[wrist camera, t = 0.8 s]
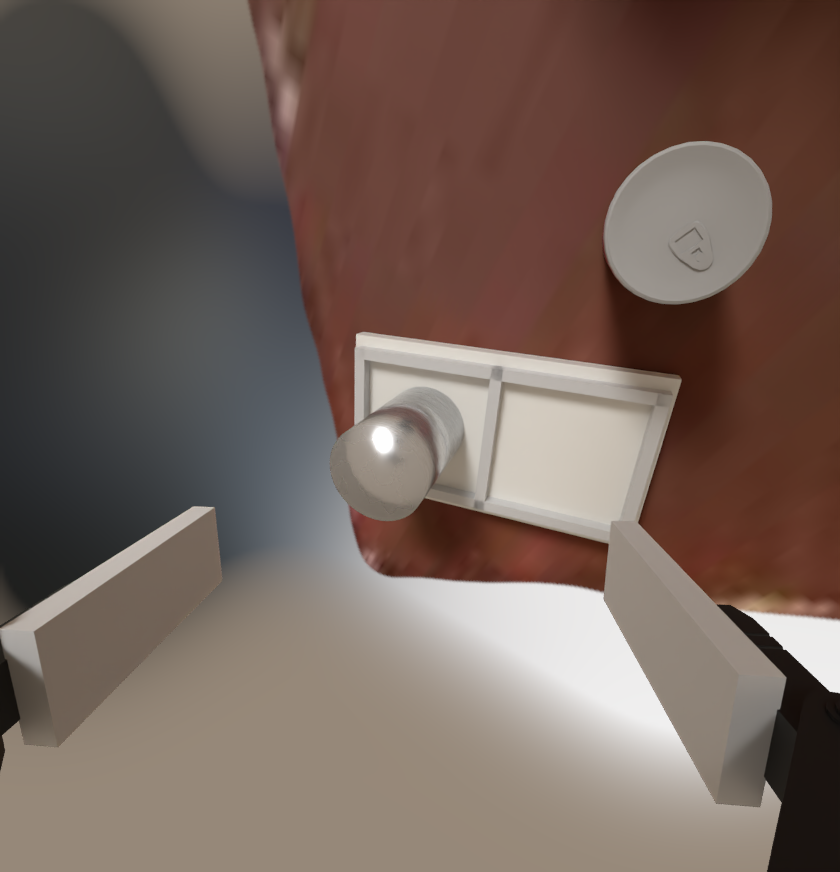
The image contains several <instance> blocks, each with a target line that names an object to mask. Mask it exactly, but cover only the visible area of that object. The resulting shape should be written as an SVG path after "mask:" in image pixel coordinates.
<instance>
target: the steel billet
mask: <svg viewBox="0 0 840 872" xmlns="http://www.w3.org/2000/svg"><path fill="white" fill-rule="evenodd" d="M463 437H464V423H463V418H462V416H461V413H460V411H459V409H458V408H457V406H456V405H455V403H454V402H453V401H452V400H451V399H450V398H449V397H448V396H446V395H445V394H444V393H442V392H440V391H438V390H436V389H433V388H429V387H412V388H409V389H406V390H404V391H403V392H401V393H400V394H398V395H397V396H395V397H394V398H393V399H391V400H390V401H388V402H387V403H386V404H384V405H383V406H381V407H380V408H379V409H377V410H376V411H374V412H373V413H372V414H370V415H369V416H367V417H366V418H365V419H363V420H362V421H360V422H359V423H358V424H356V425H355V426H353V427H352V428H351V429H349V430H348V431H346V432H345V433H344V434H342V435H341V436H340V437H339V438H338V440H337V441H336V442H335V444H334V446H333V448H332V452H331V456H330V471H331V476H332V479H333V482H334V484H335V486H336V488H337V490H338V492H339V493H340V495H341V496H342V497H343V499H344V500H345V501H346V502H347V503H348V504H349V505H350V506H351V507H352V508H354V509H355V510H356V511H358V512H360V513H361V514H363V515H365V516H367V517H370V518H373V519H376V520H381V521H394V520H399V519H402V518H405V517H407V516H408V515H410V514H411V513H413V512H414V511H415V510H416V509H417V507H418V506H419V505H420V503H421V502H422V500H423V499H424V497H425V496H426V495H427V493H428V492H429V490H430V489H431V488H432V486H433V485H434V483H435V482H436V480H437V479H438V478H439V476H440V475H441V473H442V472H443V471H444V469H445V468H446V466H447V465H448V463H449V462H450V461H451V459H452V458H453V456H454V455H455V454H456V452H457V451H458V449H459V448H460V446H461V444H462V441H463Z"/></svg>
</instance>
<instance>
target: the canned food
mask: <svg viewBox="0 0 840 872" xmlns="http://www.w3.org/2000/svg"><path fill="white" fill-rule="evenodd" d="M771 220H772V199H771V194H770V189H769V185H768V183H767V181H766V179H765V177H764V175H763V173H762V171H761V170H760V168H759V167H758V166H757V165H756V164H755V163H754V161H753V160H752V159H751V158H750V157H748V156H747V155H745V154H744V153H742V152H741V151H740V150H738V149H736V148H733V147H731V146H728V145H726V144H723V143H716V142H710V141H698V142H687V143H683V144H680V145H676V146H672V147H670V148H668V149H665V150H663V151H661V152H659V153H657V154H655V155H653V156H652V157H650V158H649V159H647V160H646V161H645V162H643V163H642V164H640V165H639V166H638V167H637V168H636V169H635V170H634V171H633V172H632V173H631V174H630V175H629V176H628V177H627V178H626V179H625V180H624V182H623V183H622V185H621V186H620V187H619V189H618V190H617V192H616V194H615V196H614V198H613V200H612V202H611V204H610V206H609V208H608V211H607V214H606V218H605V221H604V227H603V236H602V245H603V253H604V256H605V260H606V262H607V264H608V266H609V268H610V270H611V271H612V273H613V275H614V276H615V277H616V279H617V280H618V281H619V282H620V283H621V284H622V285H623V286H624V287H625V288H626V289H628V290H629V291H631V292H632V293H633V294H635V295H636V296H639V297H641V298H643V299H645V300H647V301H651V302H656V303H660V304H684V303H691V302H696V301H699V300H702V299H705V298H708V297H711V296H713V295H715V294H716V293H718V292H720V291H722V290H724V289H726V288H727V287H728V286H730V285H731V284H732V283H734V282H735V281H736V280H738V279H739V278H740V277H741V276H742V275H743V274H744V273H745V272H746V271H747V270H748V269H749V267H750V266H751V265H752V264H753V262H754V261H755V259H756V258H757V256H758V255H759V253H760V252H761V250H762V248H763V245H764V243H765V241H766V238H767V236H768V233H769V228H770V224H771Z"/></svg>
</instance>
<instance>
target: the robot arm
mask: <svg viewBox="0 0 840 872" xmlns="http://www.w3.org/2000/svg"><path fill="white" fill-rule="evenodd" d="M221 581H222V573H221V564H220V553H219V544H218V534H217V525H216V515H215V507H192V508H190V509H189V510H187V511H186V512H184V513H182V514H181V515H179V516H178V517H176V518H175V519H173V520H171V521H170V522H168V523H166V524H165V525H163V526H162V527H160V528H158V529H157V530H155V531H154V532H152V533H151V534H149V535H147V536H146V537H144V538H143V539H141V540H139V541H138V542H136V543H135V544H133V545H131V546H130V547H128V548H127V549H125V550H123V551H122V552H120V553H119V554H117V555H115V556H114V557H112V558H111V559H109V560H108V561H106V562H104V563H103V564H101V565H100V566H98V567H96V568H95V569H93V570H92V571H90V572H88V573H87V574H85V575H84V576H82V577H80V578H79V579H77V580H76V581H74V582H71V583H69V584H66V585H65V586H63V587H61V588H60V589H58V590H56V591H55V592H53V593H52V594H50V595H48V596H47V598H46V599H42V600H40V601H39V602H37V603H36V604H34V605H32V606H31V609H26V610H24V611H23V612H21V613H20V614H18V615H16V616H15V617H13V618H12V619H10V620H8V621H7V622H5V623H4V624H2V625H0V770H1V766H2V761H3V757H4V753H5V748H4V742H3V738H2V735H3V734H4V733H5V732H6V731H7V730H8V729H10V728H11V727H12V726H13V725H14V724H15V723H17V722H18V721H19V723H20V727H21V732H22V736H23V740H24V744H25V745H36V746H48V747H59V746H60V745H61V744H62V743H63V742H64V741H65V740H66V739H67V738H68V737H69V736H70V735H71V734H72V732H74V731H75V729H76V728H78V727H79V725H80V724H81V723H82V722H83V721H84V720H85V719H86V718H87V717H88V716H89V715H90V714H91V713H92V712H93V711H94V710H95V709H96V708H97V707H98V706H99V705H100V704H101V703H102V702H103V701H104V700H105V699H106V698H107V697H108V696H109V695H110V694H111V693H112V692H113V691H114V690H115V689H116V688H117V687H118V686H119V685H120V684H121V683H122V682H123V681H124V680H125V679H126V678H127V677H128V676H129V675H130V674H131V673H132V672H133V671H134V670H135V669H136V668H137V667H138V666H139V664H141V663H142V662H143V660H144V659H145V658H146V657H147V656H148V655H149V654H150V653H151V652H152V651H153V650H154V649H155V648H156V647H157V646H158V645H159V644H160V643H161V642H162V641H163V640H164V639H165V638H166V637H167V636H168V635H169V634H170V633H171V632H172V631H173V630H174V629H175V628H176V627H177V626H178V625H179V624H180V623H181V622H182V621H183V620H184V619H185V618H186V617H187V616H188V615H189V614H190V613H191V612H192V611H193V610H194V609H195V608H196V607H197V606H198V605H199V604H200V603H201V601H203V600H204V598H206V597H207V596H208V594H210V592H211V591H212V590H213V589H214V588H215V587H216V586H217V585H218V584H219V583H220V582H221ZM604 601H605V603H606V604H607V606H608V608H609V610H610V612H611V613H612V615H613V617H614V619H615V621H616V623H617V624H618V626H619V628H620V630H621V632H622V633H623V635H624V637H625V639H626V641H627V643H628V644H629V646H630V648H631V650H632V652H633V653H634V655H635V657H636V659H637V661H638V662H639V664H640V666H641V668H642V669H643V672H644V673H645V675H646V677H647V679H648V680H649V682H650V684H651V686H652V688H653V690H654V691H655V693H656V695H657V697H658V699H659V701H660V702H661V704H662V706H663V708H664V710H665V712H666V713H667V715H668V717H669V719H670V721H671V722H672V724H673V726H674V728H675V730H676V731H677V733H678V735H679V737H680V739H681V741H682V742H683V744H684V746H685V748H686V750H687V752H688V753H689V755H690V757H691V759H692V760H693V762H694V764H695V766H696V768H697V770H698V771H699V773H700V775H701V777H702V779H703V781H704V782H705V784H706V786H707V788H708V790H709V791H710V793H711V795H712V797H713V799H714V801H715V802H716V804H728V805H740V806H753V807H760V805H761V800H762V796H763V790H764V786H765V781H767V782H768V784H769V785H770V786H771V788H772V789H773V791H774V792H775V794H776V795H777V796H778V798H779V799H780V801H781V802H782V804H781V809H780V813H779V818H778V823H777V827H776V832H775V837H774V841H773V846H772V850H771V856H770V860H769V865H768V870H767V872H840V693H835V692H829V691H828V690H827V689H826V688H825V687H824V686H823V685H822V684H821V683H820V682H819V681H818V680H817V679H816V678H815V677H814V676H813V675H812V674H811V673H810V672H809V671H808V670H807V669H805V668H804V667H803V666H802V665H801V664H800V663H799V662H798V661H797V660H796V659H795V658H794V657H793V656H792V655H791V654H790V653H789V652H788V651H787V650H783V647H782V646H781V645H780V644H779V643H778V642H777V641H776V640H775V639H774V638H773V637H770V636H769V633H768V632H767V631H766V630H765V629H764V628H763V627H762V626H760V625H759V624H758V623H757V622H756V621H755V620H754V619H753V618H751V617H750V616H748V615H746V614H745V613H743V612H741V611H740V610H738V609H736V608H735V607H733V606H731V605H717V604H715V603H714V602H713V601H712V600H711V599H710V598H709V597H708V596H707V594H706V593H705V592H704V591H703V590H702V589H701V588H700V587H699V586H698V585H697V584H696V583H695V582H694V581H693V580H692V579H691V578H690V577H689V576H688V575H687V574H686V573H685V572H684V571H683V570H682V569H681V568H680V566H679V565H678V564H677V563H676V562H675V561H674V560H673V559H672V558H671V557H670V556H669V555H668V554H667V553H666V552H665V551H664V550H663V549H662V548H661V547H660V546H659V545H658V544H657V543H656V542H655V541H654V539H653V538H652V537H651V536H650V535H649V534H648V533H647V532H646V531H645V530H644V529H643V528H642V527H641V526H640V525H639V524H638V523H637V522H633V521H611V528H610V538H609V548H608V559H607V569H606V579H605V589H604Z"/></svg>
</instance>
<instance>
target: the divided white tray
mask: <svg viewBox="0 0 840 872" xmlns="http://www.w3.org/2000/svg"><path fill="white" fill-rule="evenodd" d="M681 381H682V379H681V378H680V376H679V375H674V374H666V373H659V372H652V371H645V370H637V369H630V368H623V367H615V366H608V365H601V364H594V363H586V362H579V361H572V360H564V359H557V358H550V357H543V356H535V355H528V354H521V353H514V352H506V351H499V350H492V349H484V348H477V347H470V346H463V345H455V344H448V343H441V342H434V341H426V340H419V339H412V338H404V337H397V336H390V335H383V334H375V333H368V332H361V333H359V334H356V347H355V425H356V424H358V423H359V422H360V421H362V420H363V419H365V418H366V417H367V416H369V415H370V414H372V413H373V412H374V411H376V410H377V409H379V408H380V407H381V406H383V405H384V404H386V403H387V402H388V401H390V400H391V399H393V398H394V397H395V396H397V395H398V394H400V393H401V392H403V391H404V390H406V389H409V388H412V387H429V388H433V389H436V390H438V391H440V392H442V393H444V394H445V395H446V396H448V397H449V398H450V399H451V400H452V401H453V402H454V403H455V405H456V406H457V408H458V409H459V411H460V413H461V416H462V418H463V423H464V437H463V441H462V444H461V446H460V448H459V449H458V451H457V452H456V454H455V455H454V456H453V458H452V459H451V461H450V462H449V463H448V465H447V466H446V468H445V469H444V471H443V472H442V473H441V475H440V476H439V478H438V479H437V480H436V482H435V483H434V485H433V486H432V488H431V489H430V490H429V492H428V493H427V495H426V496H425V497H424V498H427V499H431V500H435V501H439V502H443V503H447V504H451V505H455V506H459V507H463V508H467V509H471V510H475V511H479V512H483V513H487V514H491V515H495V516H499V517H503V518H507V519H511V520H515V521H519V522H523V523H527V524H531V525H535V526H539V527H543V528H547V529H551V530H555V531H559V532H563V533H567V534H571V535H575V536H579V537H583V538H587V539H591V540H595V541H599V542H603V543H608V544H609V538H610V528H611V521H633V522H637V523H638V520H639V517H640V514H641V511H642V508H643V504H644V501H645V498H646V495H647V491H648V488H649V485H650V482H651V478H652V475H653V472H654V469H655V465H656V462H657V459H658V456H659V452H660V449H661V446H662V443H663V439H664V436H665V433H666V430H667V426H668V423H669V420H670V417H671V413H672V410H673V407H674V404H675V400H676V397H677V394H678V391H679V388H680V384H681Z"/></svg>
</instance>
